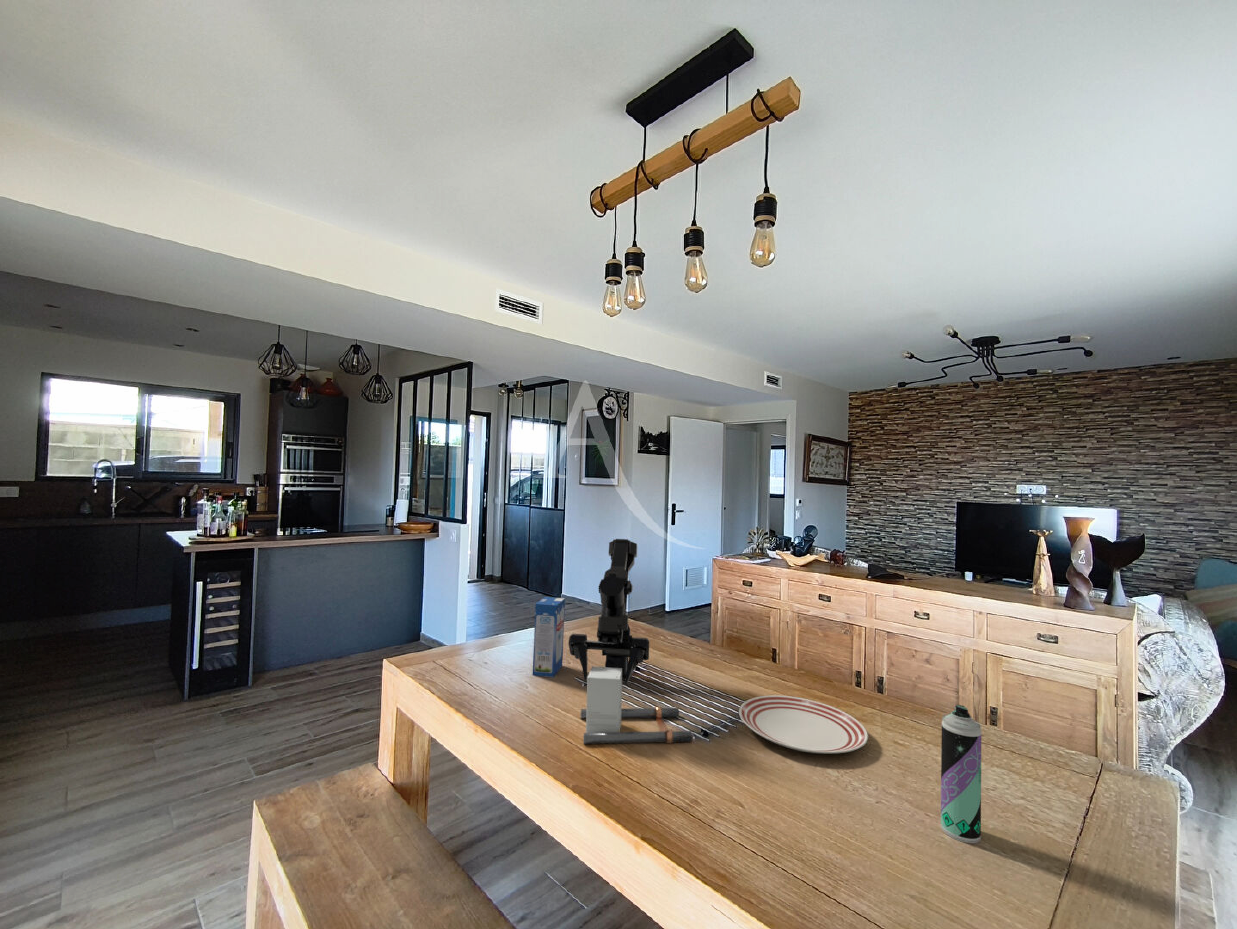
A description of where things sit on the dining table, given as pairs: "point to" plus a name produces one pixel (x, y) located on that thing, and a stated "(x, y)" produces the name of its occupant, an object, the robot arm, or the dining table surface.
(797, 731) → the dinner plate
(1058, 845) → the dining table surface
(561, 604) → the milk carton
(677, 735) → the pipe track
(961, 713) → the spray can
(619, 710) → the supplement box
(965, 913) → the dining table surface
